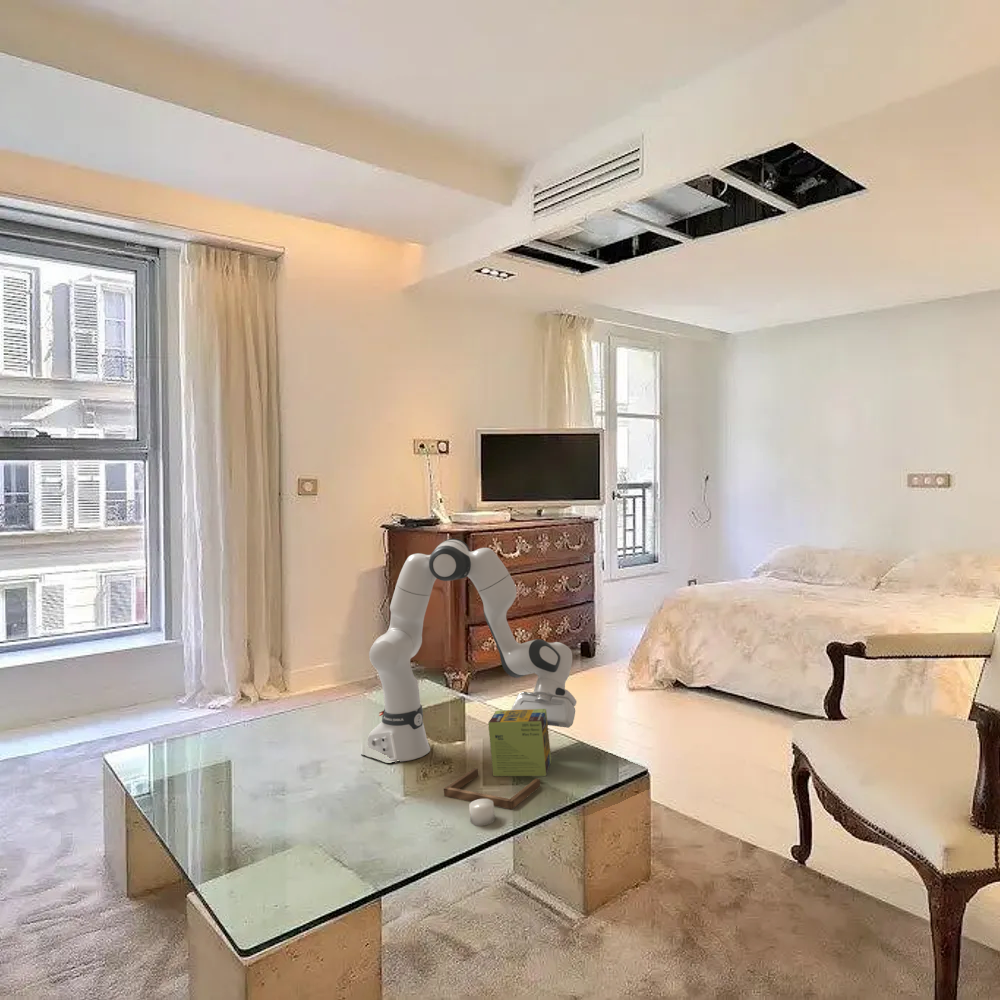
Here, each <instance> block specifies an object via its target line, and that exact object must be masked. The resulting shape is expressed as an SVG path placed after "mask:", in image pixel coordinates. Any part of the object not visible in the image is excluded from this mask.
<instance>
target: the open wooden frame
mask: <svg viewBox="0 0 1000 1000" xmlns="http://www.w3.org/2000/svg"><path fill="white" fill-rule="evenodd" d="M478 777H479V769H478V767H477V768H472V769H471V770H470V771H468V772H466V773H465V774H463V775H461V776H460V777H459V778H457V779H456V780H455V781H453V782H451V783H450V784H448V785H447V786H445V787H444V788H443V795H444V797H448V798H453V799H459V800H464V801H468V802H472V801H474V800H477V799H490V800H492V801H493V803H494V807H497V808H503V809H508V810H514V809H515V808H516V807H517V806H519V805H520V804H521V803H522V802H524V800H526V799H527V798H528V797H530V794H531V793H532V792H533V793H535V790H536V789H537V790H538V789H539V788H541V779H540V778H534V779H533V780H532V781H531V782H529V783H528V784H527V785H526V786H524V787H523V788H522V789H520V790H519V791H518V792H517V793H515V794H514V795H513V796H512V797H510V798H508V797H502V796H498V795H492V794H486V793H482V792H481V793H480V792H476V791H472V790H471V791H469V790H465V789H461V788H463V787H465V786H466V785H467V784H469V783H470V782H471V781H473V780H474V779H476V778H478ZM537 790H536V791H537ZM533 793H532V794H533ZM532 794H531V795H532ZM527 796H528V797H527Z"/></svg>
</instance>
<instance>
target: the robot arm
mask: <svg viewBox="0 0 1000 1000" xmlns="http://www.w3.org/2000/svg"><path fill="white" fill-rule="evenodd" d="M467 577H468V579H470V581H471V582H472V584H473V585H474V587H475V589H476V591H477V593H478V595H479V596H480V599H481V601H482V604H483V615H484V618H485V621H486V624H487V627H488V629H489V631H490V633H491V635H492V639H493V641H494V643H495V645H496V648H497V650H498V653H499V657H500V662H501V665H502V668H503V670H504V672H505V673H506V674H507V675H509V676H510V677H512V678H514V679H515V678H516V679H519V678H522V677H524V676H527V675H531V674H535V675H536V676H537V680H536V683H535V685H534V688H533V689H534V690H533V692H531V691H528V692H527V691H522V692H520V693H518V694H517V696H516V698H515V700H514V702H513V705H512V706H511V709H510V710H530V709H546V713H547V723H548V726H549V727H552V726H553V727H560V728H570V727H571V726H573V724H574V720H575V715H576V707H575V706H577V699H576V698H575V697H574V695H573V694H572V693H571V692H570V691H569V690H568V689H566V681H568V678H569V676H570V673H571V669H572V665H573V651H572V650H571V648H570V647H569V646H568V645H566V644H564V643H563V642H559V641H554V642H547V641H546V640H544V639H541V638H540V639H539V638H536V639H533V640H528V641H526V642H522V643H519V642H518V641H517V640H516V639H515V636H514V635H513V631H512V630H511V627H510V625H509V622H508V620H507V614H508V610H509V609H510V608H511V606H512V605H513V604H514V602H515V600H516V598H517V592H518V591H517V585H516V584H515V581H514V580H513V578H512V575H511V574H510V572H509V570H508V569H507V567H506V566H505V564H504V563H503V561H502V560H501V559H500V557H499V556H498V555H497V553H496V552H495V551H494V550H493V549H491V548H489V547H479V548H478V549H475V550H473V551H470V548H469V545H468V544H467V543H465V541H463V540H461V539H458V538H448V539H446V540H445V541H442V542H440V543H439V545H437V546H436V548H435V549H434V550H433V551H432V552H431V554H425V553H421V552H420V553H419V552H418V553H413V554H410V555H409V556H408V557H407V558H406V560H405V562H404V564H403V566H402V567H401V570H400V572H399V575H398V578H397V580H396V584H395V587H394V588H395V589H394V591H393V595H392V597H391V598H392V599H391V602H390V605H389V611H390V621H389V627H388V629H387V631H386V632H385V633H383V634H382V635H380V636H378V637H377V638H376V639H375V640H374V642H373V644H372V645H371V647H370V649H369V651H368V656H369V657H368V659H369V661H370V663H371V665H372V666H373V668H374V669H376V671H377V674H378V676H379V680H380V682H381V687H382V693H383V695H382V696H383V701H384V703H383V704H384V709H383V710H382V711H379V715H378V716H379V717H382V719H381V722H379V724H377V725H376V726H375V727H374V728H372V730H371V731H370V732H369V734H368V736H367V746H368V748H371V749H373V750H376V751H378V752H380V753H382V754H384V755H387V757H389V758H390V759H383V760H385V761H397V760H399V761H400V762H406V761H407V762H408V761H412V760H416V759H419V758H422V757H424V756H425V755H428V753H430V752H431V747H430V745H429V744H430V743H429V740H428V739H427V738H428V737H427V733H426V729H425V724H424V712H423V705H422V703H421V696H420V687H419V681H418V679H417V678H416V677H415V675H414V672H413V669H412V666H411V659H412V658H414V657H415V656H416V655H417V654H418V653H419V650H420V648H421V647H422V644H423V628H424V621H425V616H426V612H427V608H428V605H429V601H430V598H431V595H432V591H433V587H434V584H435V582H436V580H439V581H444V582H450V581H457V580H460V579H461V580H462V579H466V578H467ZM384 758H385V757H384Z"/></svg>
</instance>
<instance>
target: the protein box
mask: <svg viewBox="0 0 1000 1000" xmlns="http://www.w3.org/2000/svg"><path fill="white" fill-rule="evenodd" d="M487 724H488V733H489V734H488V735H489V745H490V755H491V756H490V757H491V768H492V777H547V774H548V771H549V769H550V766H551V763H552V755H551V746H550V745H551V743H550V738H549V737H550V734H549V725H548V723H547V713H546V709H530V710H511V709H510V710H509V709H508V710H507V709H504V710H502V709H500V710H495V712H494V714H493V715H492V717H491V718H490V719H489V721H488V723H487Z"/></svg>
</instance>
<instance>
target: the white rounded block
mask: <svg viewBox="0 0 1000 1000" xmlns="http://www.w3.org/2000/svg"><path fill="white" fill-rule="evenodd" d="M468 809H469V818H470V819H469V820H470V824H472V825H474V826H477V827H478V826H479V827H482V825H484V826H488V825H491V824H492V823H493V822H495V820H496V818H495V817H496V814H495V806H494V803H493V801H492V800H490V799H477V800H474V801H470V803H469V804H468ZM487 824H488V825H487Z"/></svg>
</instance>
